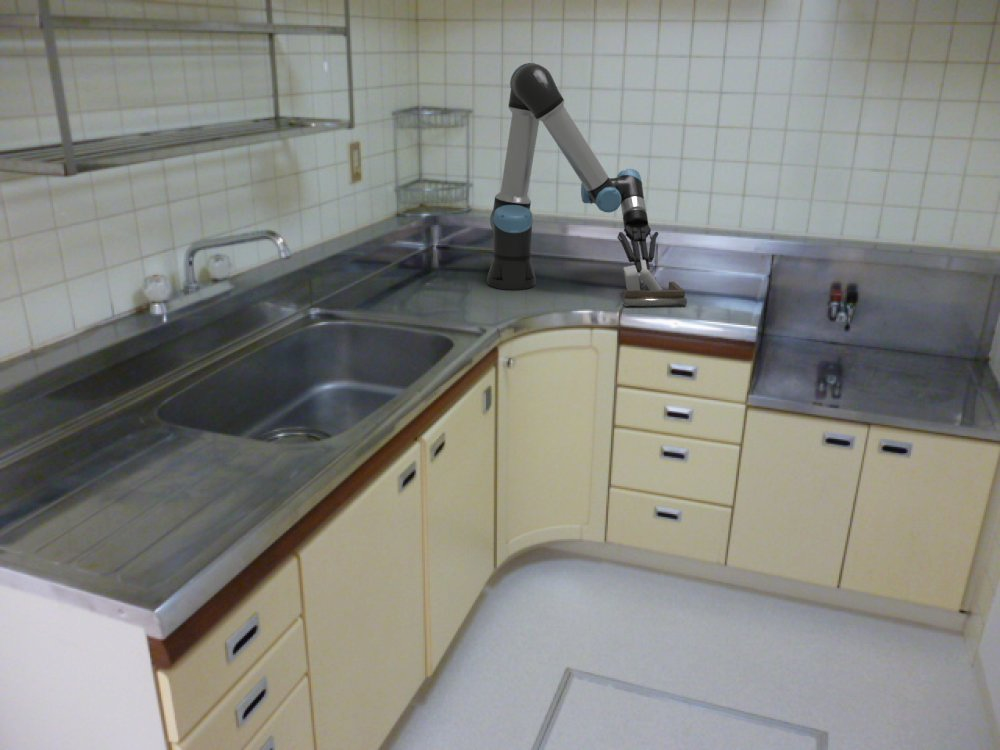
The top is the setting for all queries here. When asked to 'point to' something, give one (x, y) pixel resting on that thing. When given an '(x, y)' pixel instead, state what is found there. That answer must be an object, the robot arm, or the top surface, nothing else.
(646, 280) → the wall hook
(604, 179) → the robot arm
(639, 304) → the hinge bracket
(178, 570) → the top surface
